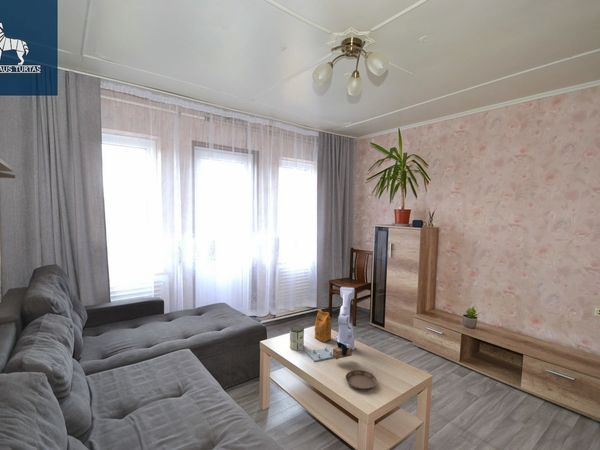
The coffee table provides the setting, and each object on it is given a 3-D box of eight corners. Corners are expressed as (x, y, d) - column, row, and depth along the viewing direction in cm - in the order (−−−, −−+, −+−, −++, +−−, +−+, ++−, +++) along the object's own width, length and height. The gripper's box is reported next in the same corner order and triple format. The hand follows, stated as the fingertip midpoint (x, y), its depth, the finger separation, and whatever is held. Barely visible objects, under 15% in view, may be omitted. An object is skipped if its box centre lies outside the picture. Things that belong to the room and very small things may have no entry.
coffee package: (321, 334, 225) (322, 307, 224) (332, 339, 216) (333, 311, 215) (312, 337, 219) (313, 309, 218) (323, 343, 209) (324, 314, 208)
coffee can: (293, 342, 210) (293, 324, 209) (305, 345, 205) (306, 326, 205) (287, 348, 200) (287, 329, 200) (300, 351, 196) (300, 332, 195)
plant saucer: (339, 383, 161) (339, 378, 161) (355, 371, 174) (355, 366, 174) (367, 397, 149) (367, 392, 149) (382, 383, 162) (382, 377, 162)
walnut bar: (348, 352, 188) (348, 345, 187) (351, 355, 184) (352, 348, 184) (333, 356, 183) (333, 348, 182) (336, 359, 179) (336, 351, 179)
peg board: (329, 348, 201) (329, 344, 201) (338, 356, 190) (338, 351, 190) (306, 353, 194) (306, 348, 194) (314, 362, 183) (314, 356, 183)
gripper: (332, 329, 188) (331, 349, 188) (343, 339, 174) (343, 360, 175) (341, 328, 190) (340, 347, 191) (353, 337, 177) (352, 358, 178)
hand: (342, 353), depth 183 cm, fingers closed on walnut bar, 4 cm apart
